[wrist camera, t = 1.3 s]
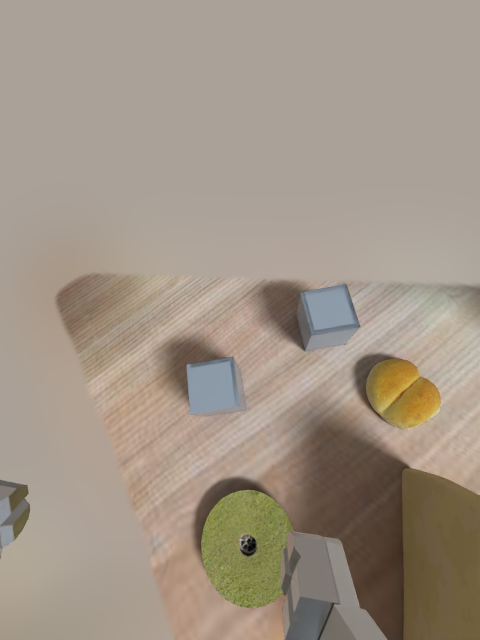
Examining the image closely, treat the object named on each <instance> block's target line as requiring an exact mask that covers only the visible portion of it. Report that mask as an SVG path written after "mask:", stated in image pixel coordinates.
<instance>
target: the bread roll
mask: <svg viewBox="0 0 480 640" xmlns="http://www.w3.org/2000/svg"><path fill="white" fill-rule="evenodd" d="M366 394H367V397H368V400H369V402H370V404H371V406H372V407H373V409H374V410H375V411H376V412H377V413H378V414H380V416H381V417H382V418H383V419H384V420H385V421H386V422H388V423H389V424H391V425H392V426H394V427H397V428H399V429H402V430H406V429H414V428H415V427H417V426H419V425H422V424H424V423H425V422H427V421H428V420H429V419H431V418H432V417H433V416H434V415H436V414H437V413H438V412H439V411H440V404H441V398H440V394H439V391H438V389H437V388H436V386H435V385H434V384H433V383H432V382H430V381H429V380H427V379H425V378H423V377H420V375H419V372H418V369H417V367H416V366H415V365H414V364H413V363H411V362H409V361H407V360H403V359H388V360H384V361H381V362H379V363H378V364H376V365H375V366H374V367H373V368H372V369H371V371H370V373H369V375H368V378H367V381H366Z"/></svg>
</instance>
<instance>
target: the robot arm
mask: <svg viewBox="0 0 480 640" xmlns="http://www.w3.org/2000/svg"><path fill="white" fill-rule="evenodd" d="M27 495H28V487H27V485H23V484H18V483H13V482H7V481H3V480H0V558H1V553H2V548H4V547H5V546H7V545H8V544H10V543H11V542H13V541H14V540H15V539H16V538H17V537H18V535H19V534H20V533H21V531H22V530H23V528H24V526H25V524H26V522H27V520H28V517H29V513H30V504H29V503H28V502H27V501H26V499H25V497H26V496H27ZM280 580H281V589H282V591H283V592H284V594H285V596H286V598H285V601H284V604H283V607H282V610H283V624H284V637H285V640H387V638H386V637H385V635H384V634H383V633H382V631H381V630H380V629H379V627H378V626H377V624H376V623H375V622H374V620H373V619H372V618H371V616H370V615H369V613H368V612H367V611H366V610H365V609H361V608H360V606H359V602H358V598H357V595H356V591H355V588H354V584H353V581H352V577H351V574H350V570H349V566H348V563H347V559H346V556H345V552H344V549H343V545H342V543H341V541H340V540H339V539H336V538H330V537H323V536H321V535H315V534H308V533H302V532H295V531H290V532H289V533H288V536H287V547H286V548H284V549H283V553H282V557H281V566H280Z"/></svg>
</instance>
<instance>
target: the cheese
mask: <svg viewBox="0 0 480 640" xmlns="http://www.w3.org/2000/svg"><path fill="white" fill-rule="evenodd" d="M402 525H403V565H404V626H403V640H480V495H478V494H476V493H474V492H472V491H470V490H468V489H466V488H464V487H462V486H460V485H458V484H456V483H454V482H452V481H450V480H448V479H445V478H443V477H440V476H437V475H434V474H430V473H427V472H423V471H420V470H416V469H404V470H403V471H402Z"/></svg>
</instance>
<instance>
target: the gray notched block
mask: <svg viewBox="0 0 480 640" xmlns="http://www.w3.org/2000/svg"><path fill="white" fill-rule="evenodd" d="M296 316H297V320H298V324H299V328H300V332H301V336H302V340H303V345H304V349H305V351H311V350H317V349H323V348H328V347H334V346H340V345H345V344H346V343H347V342H348V341H349V339H350V338H351V337H352V336H353V335H354V333H355V332H356V331H357V330H358V329H359V327H360V324H359V321H358V318H357V315H356V312H355V309H354V306H353V303H352V300H351V297H350V294H349V291H348V288H347V285H346V284H343V285H338V286H332V287H327V288H321V289H316V290H311V291H305V292H301V293H300V298H299V304H298V309H297V314H296Z"/></svg>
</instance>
